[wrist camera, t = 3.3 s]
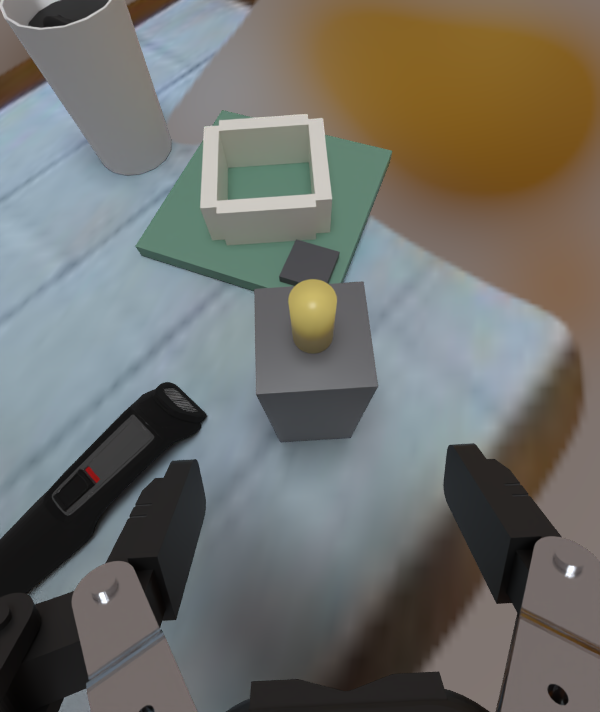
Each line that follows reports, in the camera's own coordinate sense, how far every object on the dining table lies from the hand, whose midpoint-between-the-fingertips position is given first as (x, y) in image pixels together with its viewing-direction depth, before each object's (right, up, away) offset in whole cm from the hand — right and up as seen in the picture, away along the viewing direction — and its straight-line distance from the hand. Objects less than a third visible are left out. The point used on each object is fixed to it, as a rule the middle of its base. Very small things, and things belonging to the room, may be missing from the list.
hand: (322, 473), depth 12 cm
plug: (0, +1, +10) cm, 10 cm away
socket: (-3, +15, +15) cm, 21 cm away
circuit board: (-3, +15, +16) cm, 22 cm away
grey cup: (-14, +20, +19) cm, 31 cm away
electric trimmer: (-12, -4, +9) cm, 16 cm away
